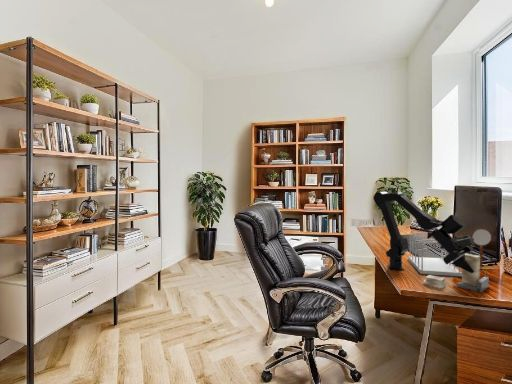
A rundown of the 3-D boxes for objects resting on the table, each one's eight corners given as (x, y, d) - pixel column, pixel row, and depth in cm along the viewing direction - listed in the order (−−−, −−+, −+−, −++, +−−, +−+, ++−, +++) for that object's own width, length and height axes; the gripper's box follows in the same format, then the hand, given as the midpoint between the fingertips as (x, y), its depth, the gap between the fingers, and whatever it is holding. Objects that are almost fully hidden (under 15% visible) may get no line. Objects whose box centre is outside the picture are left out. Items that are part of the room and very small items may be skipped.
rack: (456, 286, 125) (457, 277, 125) (464, 281, 131) (464, 272, 130) (481, 292, 118) (481, 282, 118) (488, 286, 124) (488, 277, 124)
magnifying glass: (471, 268, 147) (472, 228, 146) (469, 267, 149) (470, 227, 147) (491, 269, 145) (492, 228, 144) (489, 268, 146) (491, 228, 145)
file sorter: (462, 277, 136) (463, 243, 135) (420, 274, 141) (420, 241, 140) (443, 261, 160) (443, 232, 159) (407, 259, 165) (408, 231, 164)
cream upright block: (461, 285, 126) (462, 255, 125) (465, 283, 128) (466, 253, 128) (475, 289, 122) (476, 257, 121) (479, 286, 124) (480, 255, 124)
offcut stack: (423, 284, 129) (423, 276, 128) (427, 282, 132) (428, 273, 132) (441, 289, 123) (441, 280, 123) (445, 286, 126) (446, 277, 126)
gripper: (452, 232, 121) (485, 265, 113) (468, 226, 133) (499, 256, 125) (431, 248, 128) (460, 280, 120) (448, 241, 139) (475, 270, 131)
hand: (474, 271), depth 124 cm, fingers closed on cream upright block, 4 cm apart
